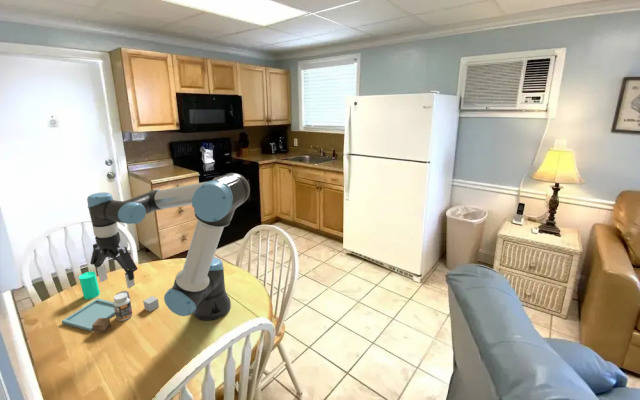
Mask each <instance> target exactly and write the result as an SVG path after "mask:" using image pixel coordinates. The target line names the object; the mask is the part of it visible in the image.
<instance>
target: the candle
mask: <svg viewBox="0 0 640 400" xmlns="http://www.w3.org/2000/svg"><path fill="white" fill-rule="evenodd" d="M78 279H79V284H80V287H81V291H82V295H83V298H84V300H92V299H95V298H96V299H97V297H99V296H100V295H101V292H100V288H99V282H98V279H97V274H96V272H95V271H86V272H83V273H82V274H81V275H79V276H78Z"/></svg>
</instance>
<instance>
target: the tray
mask: <svg viewBox="0 0 640 400" xmlns="http://www.w3.org/2000/svg"><path fill="white" fill-rule="evenodd" d="M114 302H115V301H109V300H106V299H100V298H97V297H96V299H94V300H92V301H91V302H89V303H87V304H86V305H85V306H82V308H80V309H78V310H76V311H75V312H73V313H72V314H69V316H67V317H65V318H63V319H62V320H61V322H62V323H61V324H63V325H65V326H69V327H73V328H76V329H81V330H83V331H88V332H94V331H93V327H92V325H93V324H94V323H95V322H96V320H97V319H98V318H109V319H112V318H114V316H115V317H116V315H115V310H114V306H113V304H114Z"/></svg>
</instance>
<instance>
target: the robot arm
mask: <svg viewBox="0 0 640 400" xmlns="http://www.w3.org/2000/svg"><path fill="white" fill-rule="evenodd" d="M250 187H251V186H250V184H249V182H248V180H247V179H246V177H244V175H242V174H240V173H236V172H229V173H225V174H224V175H221V176H216V177H214V178H213V179H212V180H208V181H203V182H198V183H192V184H191V183H190V184H187V185H183V186H177V187H170V188H165V189H158V188H157V189H154V190H149V191H148V192H146V193H142V194H140V195H138V196H135V197H132V198H130V199H126V200H115V199H114V197H113V196H112V194H111V193H110V192H97V193H92V194H90V195H88V196H87V198H86V199H87V200H86V201H87V202H86V203H87V208H88V213H89V216H90V217H89V218H90V220H91V225H92V229H93V236H95V243H94V244H93V245H92V253H91V258H90V265H91V266H92V265H94V267H95V268H96V273H97V274H98V275H97V276H98V278H99V282H100V283H103V282H105V281H106V280H108V274H107V269H106V265H105V260H106V259H107V258H110V259H112V260H114V261H116V262H117V263H118V264H119V266H120V267H121V268H122V270H124V271H125V272H124V278H125V282H126V287H127V289H131V288H132V287H134V286H136V285H135V273H134V272H136V271H137V270H138V267H137V265H136V264H135V261H134V259H133V258H132V257H131V255H130V253H129V250H128V247H127V246H124V247H123V246H122V247H121V246H120V243H121V236H120V232H119V226H118V223H121V224H122V223H123V224H126V225H127V224H129V225H130V224H134V225H136V224H139V223H142V221H143V220H144V219H145V217H146V215H148V214H150V213H152V212H156V211H161V210H166V209H174V208H178V207H186V206H191V207H192V208H193V212H194V217H195V219H196V220H197V221H196V224H195V228H194V232H193V234H192V239H191V240H190V244H189V247H188V250H187V251H188V252H187V256H186V258H185V262H184V265H183V268H182V269H181V270H180V271H178V272H177V274H176V276H175V279H174V281H173V285H172V287H171V288H169V289H168V290H167V291H165V293H164V297H163V300H164V304H165V305H166V307H167V308H168V310H169V311H171V312H172V313H173V314H175V315H177V316H180V317H188V316H190V315H191V314H193V315H194V317H195V318H196V319H198V320H201V321H213V320H218V319H221V318H222V317H224V316H225V315H226V314H228V313H229V311H230V310H231V307H232V306H231V305H232V304H231V299H230V297H229V296H228V293H227V291H226V283H225V274H224V271H225V270H224V269H225V268H224V264H223V261H222V260H221V259H220V258H218V257H215V255H216V251H217V248H218V245H219V242H220V239H221V236H222V234H223V231H224V228H225V227H228V226H229V225H230V224H231V221H232V219H233V216H234V214H235V211H236V210H237V208H238V207H240V206H241V205H243V204H244V203H245V202H246V201H247V200H248V199H249V195H250V192H251V188H250Z"/></svg>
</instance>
